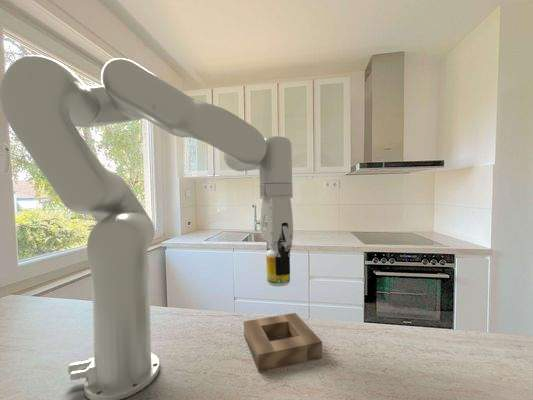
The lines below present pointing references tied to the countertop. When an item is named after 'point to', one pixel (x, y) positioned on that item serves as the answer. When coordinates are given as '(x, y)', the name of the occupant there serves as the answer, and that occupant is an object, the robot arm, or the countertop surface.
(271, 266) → the supplement bottle
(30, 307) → the countertop surface
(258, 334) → the socket block
